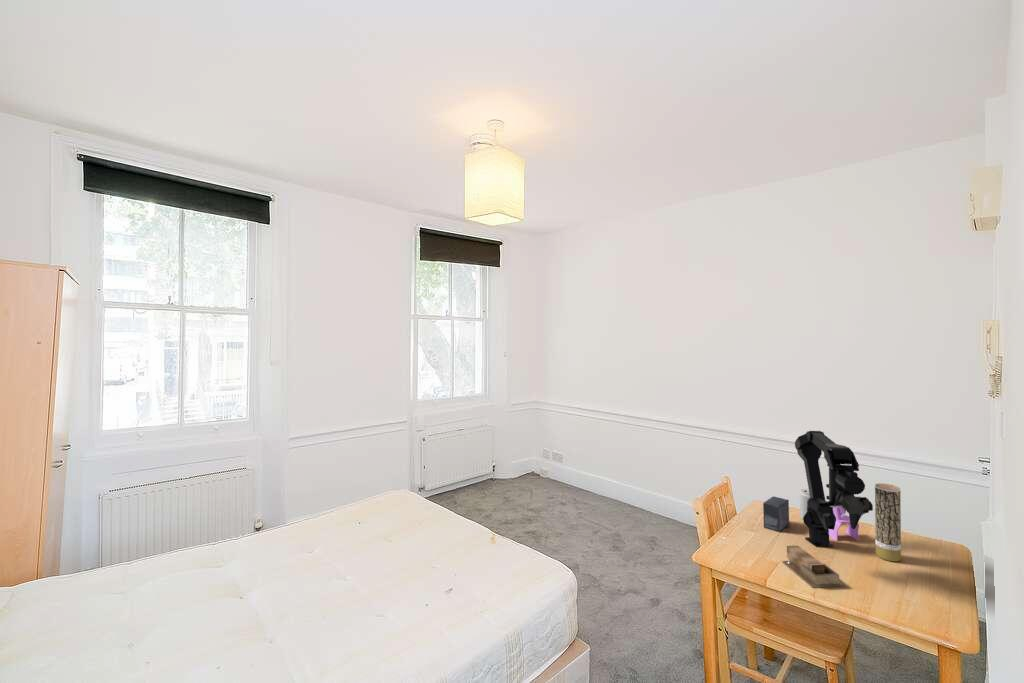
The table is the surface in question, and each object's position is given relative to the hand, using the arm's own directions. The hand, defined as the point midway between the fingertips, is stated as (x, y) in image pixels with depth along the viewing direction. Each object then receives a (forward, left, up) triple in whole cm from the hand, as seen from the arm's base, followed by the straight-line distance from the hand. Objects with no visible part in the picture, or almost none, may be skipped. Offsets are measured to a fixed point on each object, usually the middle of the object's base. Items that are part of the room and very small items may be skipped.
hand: (839, 529), depth 151 cm
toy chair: (-20, +16, -13) cm, 29 cm away
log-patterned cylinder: (-4, +20, -13) cm, 24 cm away
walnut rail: (+1, -13, -12) cm, 18 cm away
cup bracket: (+4, -13, -12) cm, 18 cm away
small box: (-31, -3, -13) cm, 34 cm away
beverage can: (-36, +14, -13) cm, 41 cm away
